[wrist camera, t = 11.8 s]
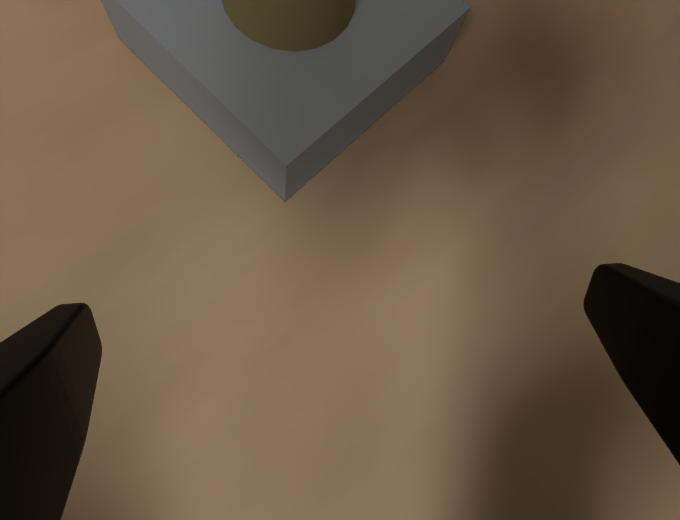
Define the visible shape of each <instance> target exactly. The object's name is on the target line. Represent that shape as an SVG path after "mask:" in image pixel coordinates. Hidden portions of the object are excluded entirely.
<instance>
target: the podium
mask: <svg viewBox="0 0 680 520" xmlns="http://www.w3.org/2000/svg"><path fill="white" fill-rule="evenodd" d="M101 1H102V4H103V6H104V8H105V10H106V12H107V14H108V16H109V19H110V21H111V23H112V25H113V27H114V29H115V31H116V34H117V36H118V38H119V39H120V40H121V41H122V42H123V43H124V44H125V45H126V46H127V47H128V48H129V49H130V50H131V51H132V52H133V53H134V54H135V55H136V56H137V57H138V58H139V59H140V60H141V61H142V62H143V63H144V64H145V65H146V66H147V67H148V68H149V69H150V70H152V71H153V72H154V73H155V74H156V75H157V76H158V77H159V78H160V79H161V80H162V81H163V82H164V83H165V84H166V85H167V86H168V87H169V88H170V89H171V90H172V91H173V92H174V93H175V94H176V95H177V96H178V97H179V98H180V99H181V100H182V101H183V102H184V103H185V104H186V105H187V106H188V107H189V108H190V109H191V110H192V111H193V112H194V113H195V114H196V115H197V116H198V117H199V118H200V119H201V120H202V121H203V122H204V123H205V124H206V125H207V126H208V127H209V128H210V129H211V130H212V131H214V132H215V133H216V134H217V135H218V136H219V137H220V138H221V139H222V140H223V141H224V142H225V143H226V144H227V145H228V146H229V147H230V148H231V149H232V150H233V151H234V152H235V153H236V154H237V155H238V156H239V157H240V158H241V159H242V160H243V161H244V162H245V163H246V164H247V165H248V166H249V167H250V168H251V169H252V170H253V171H254V172H255V173H256V174H257V175H258V176H259V177H260V178H261V179H262V180H263V181H264V182H265V183H266V184H267V185H268V186H269V187H270V188H271V189H272V190H273V191H274V192H276V193H277V194H278V195H279V196H280V197H281V198H282V199H283V200H284V201H286V200H288V199H289V198H290V197H291V196H292V195H293V194H294V193H296V192H297V191H298V190H299V189H300V188H301V187H302V186H303V185H305V184H306V183H307V182H308V181H309V180H310V179H311V178H312V177H314V176H315V175H316V174H317V173H318V172H319V171H320V170H321V169H323V168H324V167H325V166H326V165H327V164H328V163H329V162H331V161H332V160H333V159H334V158H335V157H336V156H337V155H338V154H340V153H341V152H342V151H343V150H344V149H345V148H346V147H347V146H349V145H350V144H351V143H352V142H353V141H354V140H355V139H357V138H358V137H359V136H360V135H361V134H362V133H363V132H364V131H366V130H367V129H368V128H369V127H370V126H371V125H372V124H373V123H375V122H376V121H377V120H378V119H379V118H380V117H381V116H382V115H384V114H385V113H386V112H387V111H388V110H389V109H390V108H392V107H393V106H394V105H395V104H396V103H397V102H398V101H399V100H401V99H402V98H403V97H404V96H405V95H406V94H407V93H408V92H410V91H411V90H412V89H413V88H414V87H415V86H416V85H418V84H419V83H420V82H421V81H422V80H423V79H424V78H425V77H427V76H428V75H429V74H430V73H431V72H432V71H433V70H434V69H436V68H437V67H438V66H439V65H440V64H441V63H442V62H443V61H444V59H445V57H446V55H447V53H448V52H449V50H450V48H451V46H452V44H453V42H454V40H455V38H456V36H457V34H458V32H459V30H460V28H461V26H462V24H463V22H464V20H465V19H466V17H467V15H468V13H469V11H470V9H471V6H470V5H469V4H468V3H467V2H466V1H465V0H355V12H354V14H353V16H352V18H351V21H350V23H349V25H348V27H347V28H346V29H345V30H344V31H343V32H342V33H341V34H340V35H339V36H338V37H337V38H336V39H335V40H333V41H331V42H329V43H327V44H325V45H323V46H321V47H318V48H316V49H310V50H303V51H297V52H293V51H285V50H277V49H272V48H269V47H267V46H264V45H262V44H259V43H257V42H255V41H252V40H251V39H250V38H248V37H247V36H246V35H245V34H243V33H242V32H241V31H240V30H238V29H237V28H236V27H235V26H234V24H233V23H232V21H231V20H230V18H229V17H228V15H227V14H226V12H225V11H224V7H223V3H222V0H101Z"/></svg>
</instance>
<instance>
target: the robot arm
mask: <svg viewBox="0 0 680 520" xmlns="http://www.w3.org/2000/svg"><path fill="white" fill-rule="evenodd" d="M583 305H584V310H585V313H586V315H587V317H588V319H589V321H590V323H591V325H592V326H593V328H594V330H595V332H596V334H597V335H598V337H599V339H600V341H601V343H602V345H603V346H604V348H605V350H606V352H607V354H608V356H609V357H610V359H611V361H612V363H613V365H614V367H615V368H616V370H617V372H618V374H619V375H620V377H621V379H622V380H623V382H624V384H625V385H626V387H627V388H628V390H629V391H630V393H631V394H632V396H633V397H634V399H635V400H636V402H637V403H638V404H639V406H640V407H641V409H642V410H643V412H644V413H645V415H646V416H647V418H648V419H649V421H650V422H651V424H652V425H653V426H654V428H655V429H656V431H657V432H658V434H659V435H660V437H661V438H662V440H663V441H664V443H665V444H666V446H667V447H668V448H669V450H670V451H671V453H672V454H673V456H674V457H675V459H676V460H677V462H678V463H679V465H680V283H678V282H675V281H672V280H669V279H666V278H663V277H660V276H657V275H655V274H652V273H649V272H646V271H643V270H640V269H637V268H634V267H631V266H628V265H625V264H622V263H612V264H601V265H599V266H597V267H596V269H595V270H594V272H593V275H592V278H591V281H590V283H589V286H588V289H587V292H586V295H585V298H584V304H583ZM101 356H102V345H101V340H100V337H99V334H98V331H97V327H96V324H95V321H94V318H93V315H92V311H91V309H90V307H89V306H88V305H87V304H85V303H72V304H61V305H58V306H56V307H54V308H53V309H51V310H50V311H48V312H47V313H45V314H44V315H42V316H40V317H39V318H37V319H36V320H34V321H33V322H31V323H30V324H28V325H27V326H25V327H24V328H22V329H20V330H19V331H17V332H16V333H14V334H13V335H11V336H10V337H8V338H7V339H5V340H4V341H2V342H1V343H0V520H61V517H62V514H63V511H64V508H65V505H66V501H67V498H68V495H69V492H70V489H71V486H72V483H73V479H74V476H75V473H76V470H77V467H78V464H79V460H80V457H81V454H82V451H83V447H84V444H85V440H86V435H87V431H88V426H89V421H90V416H91V410H92V405H93V399H94V394H95V389H96V383H97V378H98V373H99V367H100V362H101Z"/></svg>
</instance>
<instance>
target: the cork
mask: <svg viewBox="0 0 680 520" xmlns="http://www.w3.org/2000/svg"><path fill="white" fill-rule="evenodd" d="M222 3H223V7H224V11H225V12H226V14H227V15H228V17H229V18H230V20H231V21H232V23H233V24H234V26H235V27H236V28H237V29H238V30H240V31H241V32H242V33H243V34H245V35H246V36H247V37H248V38H250V39H251V40H252V41H255V42H257V43H259V44H262V45H264V46H267V47H269V48H272V49H277V50H285V51H293V52H297V51H303V50H310V49H316V48H318V47H321V46H323V45H325V44H327V43H329V42H331V41H333V40H335V39H336V38H337V37H338V36H339V35H340V34H341V33H342V32H343V31H344V30H345V29H346V28H347V27H348V25H349V23H350V21H351V18H352V16H353V14H354V12H355V0H222Z"/></svg>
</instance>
